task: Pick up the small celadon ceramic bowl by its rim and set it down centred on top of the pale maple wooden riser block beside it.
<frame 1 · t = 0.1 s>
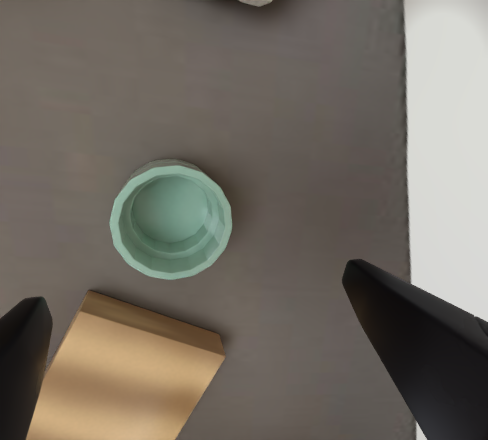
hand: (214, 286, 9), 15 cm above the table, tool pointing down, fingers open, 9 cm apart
bowl: (171, 206, 23), on the table
riser: (127, 369, 27), on the table
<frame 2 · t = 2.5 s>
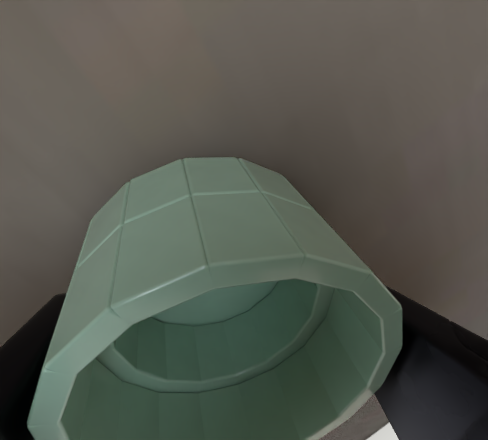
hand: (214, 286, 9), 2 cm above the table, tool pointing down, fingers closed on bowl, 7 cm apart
bowl: (206, 254, 10), on the table, touching gripper
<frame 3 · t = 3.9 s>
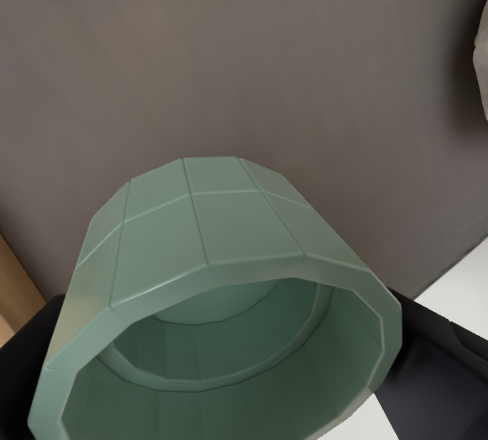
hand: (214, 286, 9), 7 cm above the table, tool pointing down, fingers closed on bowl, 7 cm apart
bowl: (206, 254, 10), point 6 cm above the table, touching gripper
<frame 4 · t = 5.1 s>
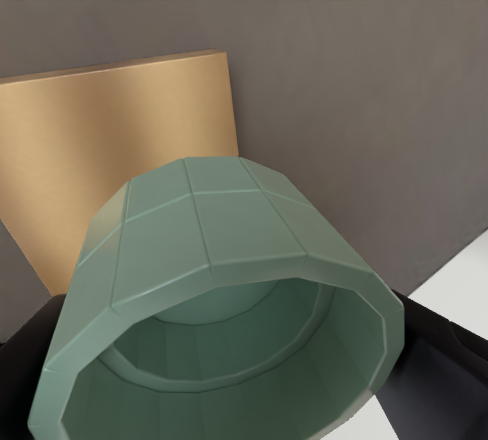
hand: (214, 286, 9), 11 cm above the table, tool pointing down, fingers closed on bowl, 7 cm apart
bowl: (206, 254, 10), point 10 cm above the table, touching gripper
riser: (133, 176, 18), on the table
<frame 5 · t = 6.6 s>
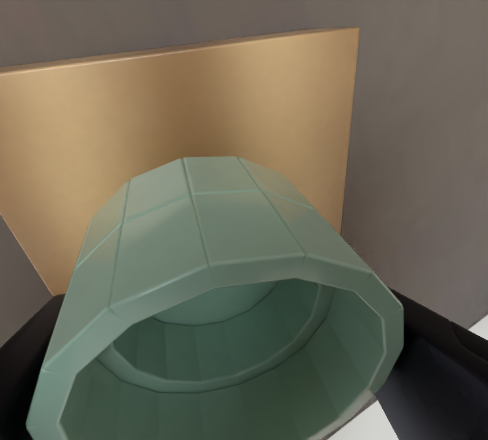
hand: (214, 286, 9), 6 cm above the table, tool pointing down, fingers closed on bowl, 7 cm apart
bowl: (206, 254, 10), point 5 cm above the table, touching gripper
riser: (193, 195, 14), on the table
when the fingers open (4 cm above the table, at t = 7.7 s): bowl stays where it is, resting on riser.
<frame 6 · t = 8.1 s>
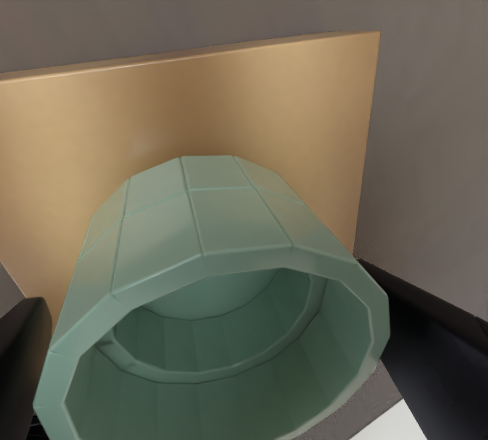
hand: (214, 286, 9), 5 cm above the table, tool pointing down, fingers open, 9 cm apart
bowl: (203, 250, 11), point 3 cm above the table, touching riser
riser: (195, 209, 13), on the table, touching bowl
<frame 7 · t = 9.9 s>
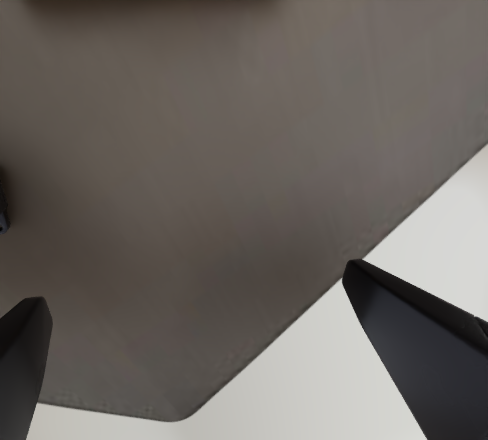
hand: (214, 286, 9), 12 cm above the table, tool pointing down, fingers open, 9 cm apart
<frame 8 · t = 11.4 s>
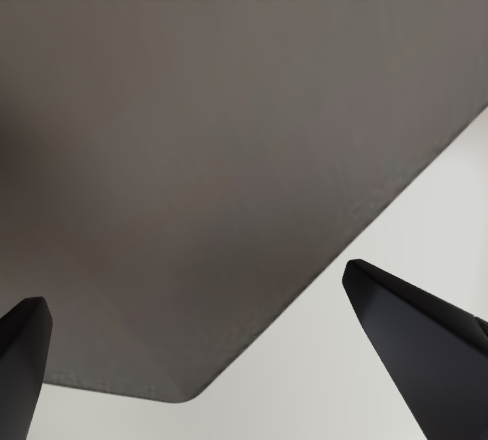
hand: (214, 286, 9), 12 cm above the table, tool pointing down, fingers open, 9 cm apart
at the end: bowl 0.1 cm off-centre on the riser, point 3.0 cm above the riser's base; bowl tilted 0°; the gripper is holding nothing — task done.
